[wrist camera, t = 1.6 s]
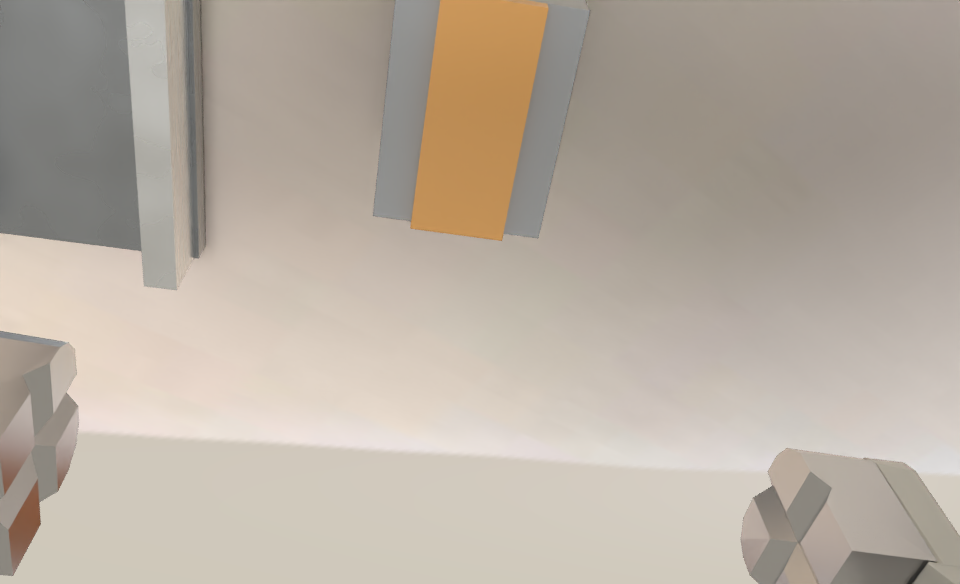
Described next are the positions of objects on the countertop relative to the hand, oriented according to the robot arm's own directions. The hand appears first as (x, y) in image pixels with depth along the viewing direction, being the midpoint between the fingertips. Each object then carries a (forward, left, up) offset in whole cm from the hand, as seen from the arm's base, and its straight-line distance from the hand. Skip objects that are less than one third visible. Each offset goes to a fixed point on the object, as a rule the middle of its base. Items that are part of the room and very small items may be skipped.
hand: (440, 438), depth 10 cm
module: (-1, +1, -18) cm, 18 cm away
